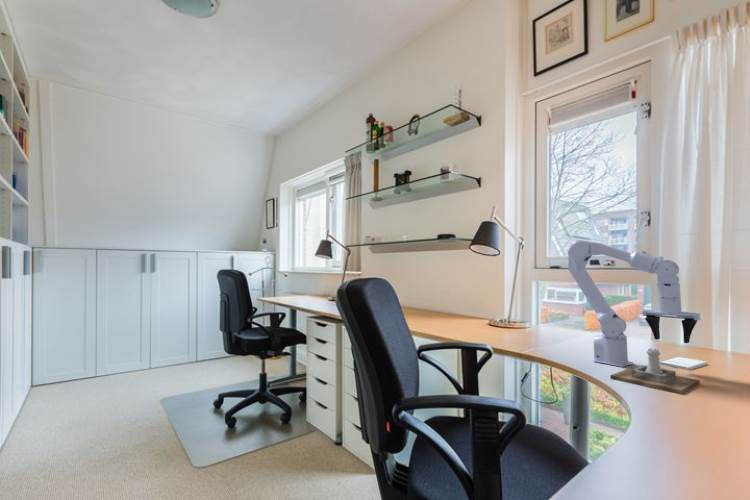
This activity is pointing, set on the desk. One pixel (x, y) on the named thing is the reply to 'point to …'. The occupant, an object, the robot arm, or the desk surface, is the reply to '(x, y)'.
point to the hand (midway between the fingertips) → (671, 340)
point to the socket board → (656, 379)
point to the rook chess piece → (654, 362)
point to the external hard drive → (683, 363)
